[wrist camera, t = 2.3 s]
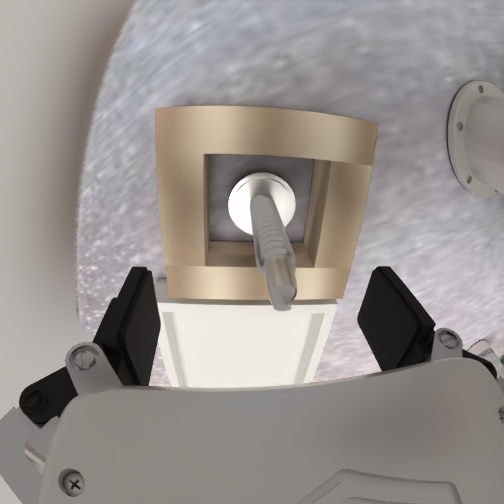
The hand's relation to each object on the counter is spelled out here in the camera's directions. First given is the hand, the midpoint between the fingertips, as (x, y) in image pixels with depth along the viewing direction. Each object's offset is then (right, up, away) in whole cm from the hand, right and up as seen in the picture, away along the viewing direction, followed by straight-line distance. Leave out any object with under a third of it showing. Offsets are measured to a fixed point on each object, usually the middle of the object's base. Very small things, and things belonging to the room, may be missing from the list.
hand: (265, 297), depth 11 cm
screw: (0, +6, +11) cm, 12 cm away
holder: (0, +6, +11) cm, 12 cm away
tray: (-2, -9, +19) cm, 21 cm away
